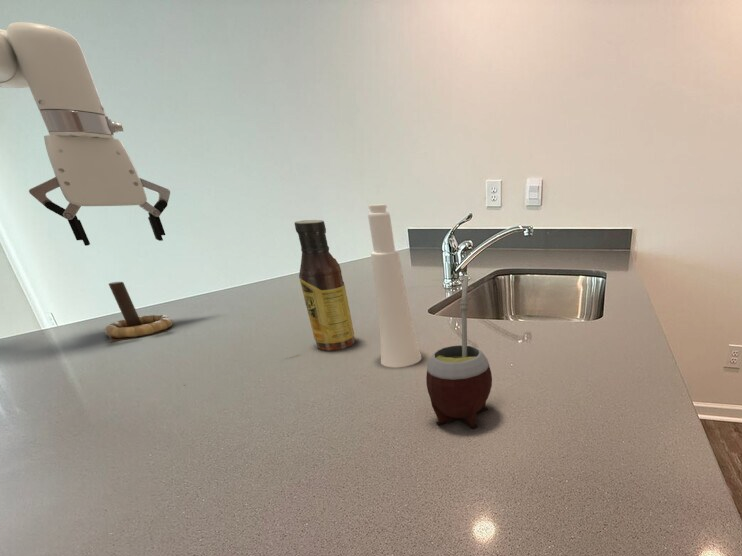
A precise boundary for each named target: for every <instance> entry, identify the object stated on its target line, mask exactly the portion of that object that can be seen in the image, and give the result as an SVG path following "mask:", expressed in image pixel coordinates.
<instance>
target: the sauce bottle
mask: <svg viewBox="0 0 742 556" xmlns="http://www.w3.org/2000/svg"><path fill="white" fill-rule="evenodd" d="M294 227H295V228H294V229H295V232H296V233H297V235H298V240H299V243H300V251H301V258H300V259H301V260H300V268H299V274H298V279H299V282H300V286H301V287H300V288H301V289H302V294H303V299H304V303H305V306H306V311H307V315H308V318H309V322H310V327H311V331H312V334H313V338H314V341H315V343H316V346H317V348H318V349H319V350H321V351H325V352H326V351H329V352H330V351H339V350H344V349H347V348H350V347H352V346H353V345H354V344H355V341H356V339H355V330H354V326H353V321H352V316H351V311H350V306H349V301H348V295H347V290H346V285H345V282H344V279H343V274H342V268H341V265H340V263H339V262H338V261H337V258H335V257H333V255H332V254H331V252H330V246H329V245H328V240H327V235H326V233H327V228H326V223H325V221H324V220H323V219H306V220H305V219H304V220H297V221H294Z"/></svg>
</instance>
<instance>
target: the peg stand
mask: <svg viewBox="0 0 742 556" xmlns="http://www.w3.org/2000/svg"><path fill="white" fill-rule="evenodd" d="M108 286H109V289H110V290H111V293H112V296H113V297H114V299H115V301H116V304H117V306H118V308H119V310H120V312H121V314H122V317H123V320H124V319H125V321H126V323H127V326H128V327H134V326H139V325H142V323H141V321H140V319H139V316H140V315H139V314H138V312H137V310H136V307H135V305H134V303H133V300H132V298H131V296H130V294H129V292H128V289H127V287H126V284H125V283H124V281H114V282H113V281H112V282H109V283H108ZM167 329H168V328H167ZM167 329H165V330H162V331H159V332H156V333H153V334H148V335H143V336H137V337H127V338H117V337H110V336H108V338H109V341H110V343H111V344H112V343H116V342H122V341H126V340H132V339H136V338H141V337H146V336H147V337H148V336H152V335H156V334H162V333H168V330H167Z"/></svg>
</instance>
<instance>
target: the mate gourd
mask: <svg viewBox="0 0 742 556" xmlns="http://www.w3.org/2000/svg"><path fill="white" fill-rule="evenodd" d="M469 277H470V276H469V275H464V276H463V281H462V288H461V300H460V301H459V305H460V306H459V309H460V311H461V312H460V313H461V345H451V346H445V347H442V348H439V349H438V350H436V351H435V352H434V353H433V354H432V355H431V356H430V358H429V360H428V361H427V365H426V375H425V376H426V377H425V380H426V381H425V383H426V390H427V393H428V395H429V398H430V403H431V407H432V409H433V412H434V414H435V417H436V418H437V421H436V422H435V423H436V425H437V426H439V427H440V426H444V425H447V424H450V423H453V422H456V421H462V422H463V423H465V425H466V426H467V427H469V429H471V430H475V429H478V428H479V425H478V424H477V423H476V418H477V414H480V413H484V412H488V410H489V408H488V407H487V406H486V404H487V400H488V398H489V396H490V393H491V390H492V387H493V386H492V385H493V376H492V369H491V367H490V361H489V359H488V358H487V356H486V355H485V354H484V353H483V351H482V350H480V348H477V347H476V346H471V345H468V317H467V316H468V314H467V313H468V309H469V301H468V299H467V297H468V288H469V287H468V285H469Z"/></svg>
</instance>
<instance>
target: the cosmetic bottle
mask: <svg viewBox="0 0 742 556" xmlns="http://www.w3.org/2000/svg"><path fill="white" fill-rule="evenodd" d="M387 208H388V207H387V204H385V203H376V204H375V203H374V204H369V205H368V209H369V212H368V214H367V218H368V223H369V230H370V237H371V242H372V248H373V251H372V252H371V253H370V257H371V265H372V275H373V283H374V291H375V299H376V306H377V316H378V326H379V334H380V335H379V336H380V337H379V338H380V363H381V365H382V366H384V367H386V368H404V367H409V366H413V365H415V364H418V363H419V362H420V361H422V355H421V352H420V349H419V345H418V342H417V337H416V333H415V330H414V325H413V321H412V316H411V311H410V306H409V305H410V304H409V299H408V295H407V290H406V283H405V278H404V274H403V268H402V263H401V258H400V253H399V251H398V250H396V248H395V241H394V234H393V227H392V219H391V215H390V212H388V211H387Z"/></svg>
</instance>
